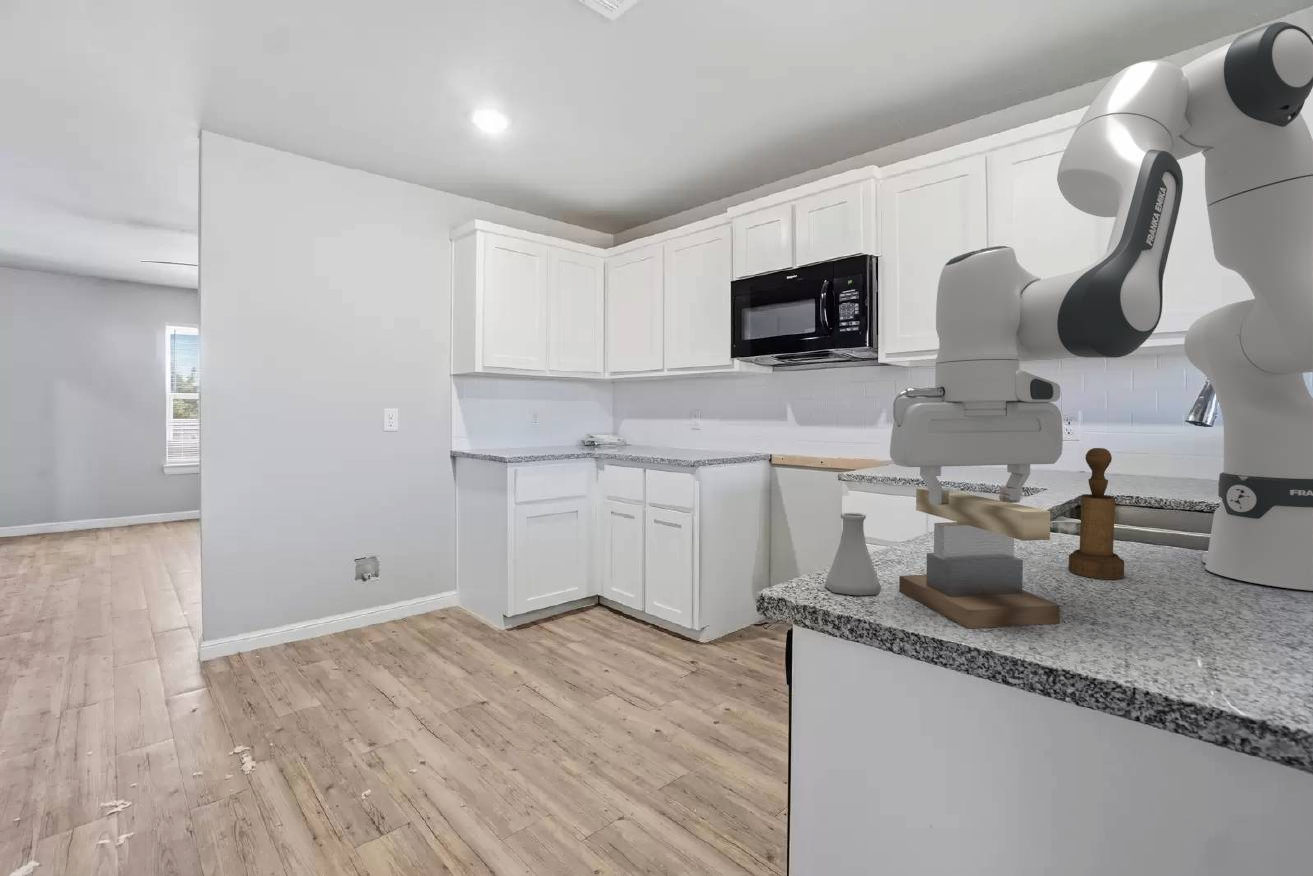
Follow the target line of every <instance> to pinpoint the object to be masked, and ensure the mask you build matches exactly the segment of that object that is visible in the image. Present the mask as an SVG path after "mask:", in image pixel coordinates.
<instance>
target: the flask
mask: <svg viewBox="0 0 1313 876" xmlns="http://www.w3.org/2000/svg"><path fill="white" fill-rule="evenodd" d="M866 517H867V515H866V514H864V513H862V512H842V513H840V519H842V529H841V531H842V532H841V534H840V535H841V537H840V541H839V545H838V548H837V551H836V554H835V556H834V559H833V562H832V565H831V567H830V570H829V572H828V575H827V577H826V580H825V583H824V587H825V588H827V589H828V590H829V591H831V592H833V593H837V594H844V595H845V594H846V595H851V596H864V595H865V596H866V595H868V596H869V595H870V596H871V595H878V594H879V593H880V591H881V590H882V587H881V586H882V585H881V584H880V580H879V577H878V575H877V572H876V570H875V566H874V564H873V561H872V558H871V555H870V552H869V549H868V546H867V542H866V538H865V530H864V529H865V528H864V520H865V519H866Z"/></svg>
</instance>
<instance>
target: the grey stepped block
mask: <svg viewBox="0 0 1313 876" xmlns="http://www.w3.org/2000/svg"><path fill="white" fill-rule="evenodd" d="M1023 569H1024V559H1023V558H1018V557H1016V556H1015V538H1012V537H1008V536H1005V535H1001V534H998V533H994V532H991V531H987V530H984V529H980V528H977V527H973V526H970V525H966V524H963V523H959V522H956V521H952V522H934V523H933V552H926V575H927V577H926V585H927V586H929V587H931V588H933V589H935V590H937V591H939V592H941V593H943V594H946V595H948V596H950V597H966V596H985V595H1004V594H1022V590H1023V581H1024V580H1023Z"/></svg>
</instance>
